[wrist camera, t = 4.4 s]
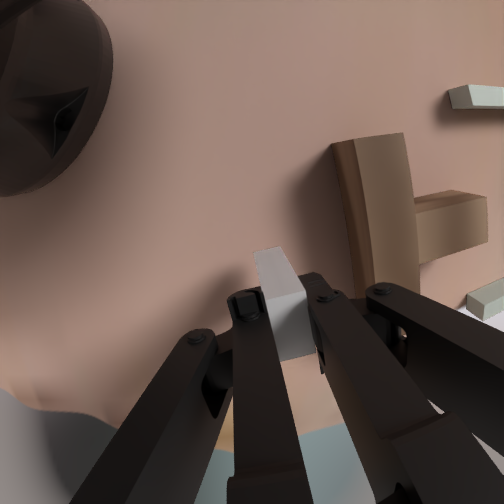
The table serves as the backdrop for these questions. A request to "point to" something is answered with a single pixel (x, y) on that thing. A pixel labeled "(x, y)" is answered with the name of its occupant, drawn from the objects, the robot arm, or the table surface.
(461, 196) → the tee block
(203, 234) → the table surface
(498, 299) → the green u-shaped bracket
